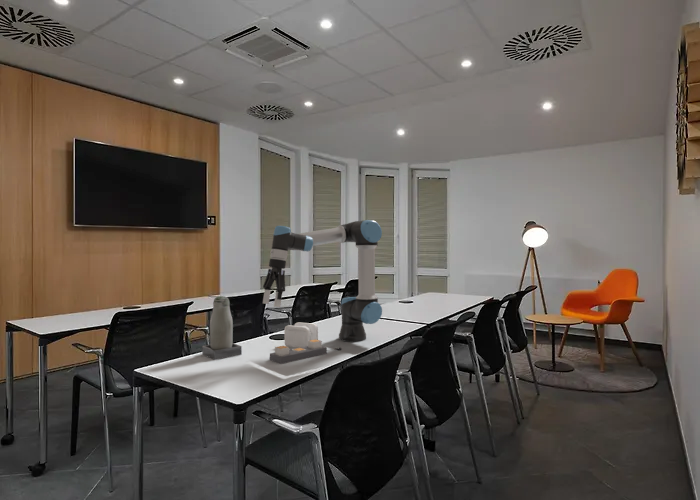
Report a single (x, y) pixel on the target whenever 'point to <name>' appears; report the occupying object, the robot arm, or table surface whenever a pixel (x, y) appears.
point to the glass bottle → (221, 324)
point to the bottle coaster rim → (221, 352)
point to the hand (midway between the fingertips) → (271, 305)
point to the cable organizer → (300, 334)
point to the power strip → (299, 354)
